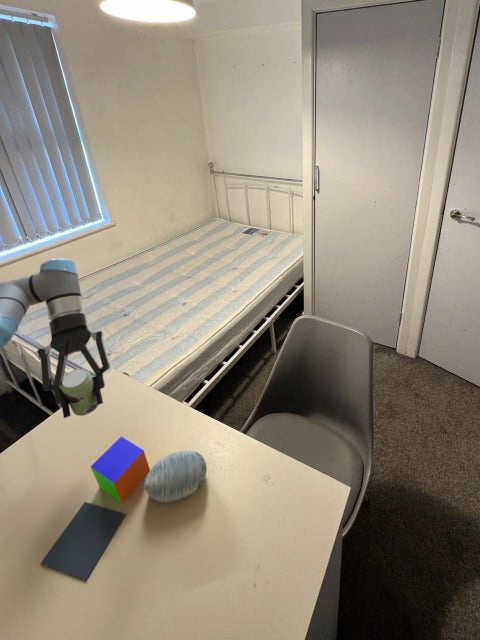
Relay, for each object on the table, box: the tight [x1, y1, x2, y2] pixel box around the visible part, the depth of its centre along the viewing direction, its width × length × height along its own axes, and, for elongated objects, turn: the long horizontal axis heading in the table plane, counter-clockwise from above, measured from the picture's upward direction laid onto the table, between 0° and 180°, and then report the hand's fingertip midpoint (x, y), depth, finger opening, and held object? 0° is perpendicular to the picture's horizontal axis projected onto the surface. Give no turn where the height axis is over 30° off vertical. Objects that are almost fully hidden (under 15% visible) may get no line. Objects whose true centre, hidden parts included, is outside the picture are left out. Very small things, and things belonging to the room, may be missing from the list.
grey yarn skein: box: [144, 450, 208, 504], centre depth 76 cm, size 14×10×10 cm
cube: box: [90, 436, 151, 504], centre depth 77 cm, size 8×8×8 cm
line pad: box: [40, 501, 127, 581], centre depth 68 cm, size 11×11×1 cm
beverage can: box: [61, 368, 99, 417], centre depth 78 cm, size 6×7×12 cm
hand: (84, 410), depth 76 cm, fingers closed on beverage can, 6 cm apart
